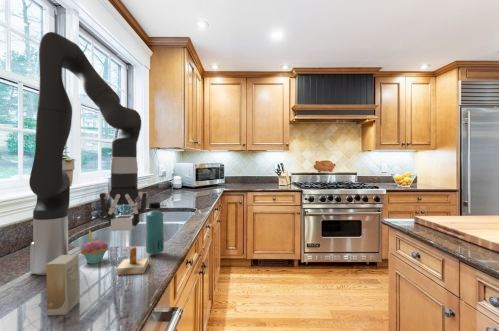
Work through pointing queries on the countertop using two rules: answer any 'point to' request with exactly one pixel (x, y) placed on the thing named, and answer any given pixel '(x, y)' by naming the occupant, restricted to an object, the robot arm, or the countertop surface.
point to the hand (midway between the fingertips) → (124, 225)
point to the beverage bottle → (154, 230)
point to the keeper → (132, 264)
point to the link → (122, 223)
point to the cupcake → (94, 250)
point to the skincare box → (62, 284)
